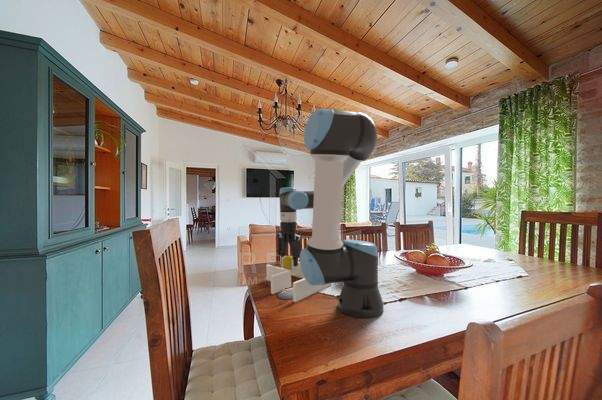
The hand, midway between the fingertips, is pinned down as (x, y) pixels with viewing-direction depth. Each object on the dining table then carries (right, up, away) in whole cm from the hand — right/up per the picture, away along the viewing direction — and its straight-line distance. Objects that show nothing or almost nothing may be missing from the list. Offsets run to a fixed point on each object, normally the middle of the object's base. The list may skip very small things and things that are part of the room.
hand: (289, 271), depth 117 cm
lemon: (0, -1, 0) cm, 1 cm away
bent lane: (+1, -4, -7) cm, 8 cm away
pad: (0, -4, -17) cm, 18 cm away
